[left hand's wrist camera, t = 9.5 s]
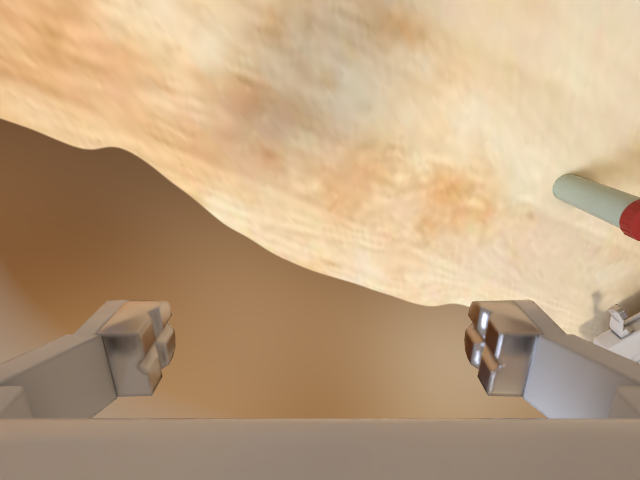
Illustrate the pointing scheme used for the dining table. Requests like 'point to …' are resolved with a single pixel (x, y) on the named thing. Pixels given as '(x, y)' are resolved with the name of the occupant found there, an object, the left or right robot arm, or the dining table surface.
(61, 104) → the dining table surface
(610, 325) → the right robot arm
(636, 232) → the lid
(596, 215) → the green cylinder
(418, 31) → the dining table surface
